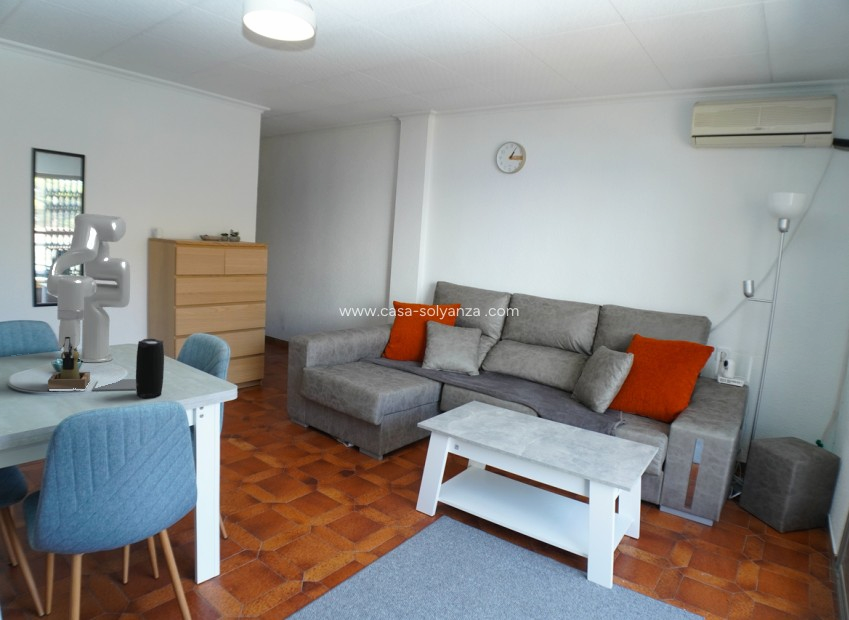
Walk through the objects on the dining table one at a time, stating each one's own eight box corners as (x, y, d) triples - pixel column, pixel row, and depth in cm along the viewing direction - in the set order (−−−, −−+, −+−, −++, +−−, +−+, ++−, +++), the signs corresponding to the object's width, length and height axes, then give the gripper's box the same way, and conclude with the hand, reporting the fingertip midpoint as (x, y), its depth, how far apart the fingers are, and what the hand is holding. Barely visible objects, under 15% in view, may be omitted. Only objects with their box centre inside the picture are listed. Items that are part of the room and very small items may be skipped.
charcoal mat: (98, 381, 195) (98, 379, 195) (138, 380, 200) (138, 379, 200) (92, 391, 183) (92, 389, 183) (135, 390, 188) (135, 388, 188)
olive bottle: (55, 382, 184) (55, 350, 182) (74, 378, 189) (74, 348, 188) (65, 385, 181) (65, 353, 180) (84, 382, 186) (84, 351, 185)
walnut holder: (54, 383, 188) (55, 372, 187) (89, 383, 192) (90, 372, 191) (47, 392, 178) (48, 380, 178) (84, 391, 182) (84, 379, 182)
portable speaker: (136, 400, 178) (138, 343, 176) (134, 392, 186) (135, 338, 184) (164, 398, 183) (166, 342, 180) (161, 390, 190) (162, 337, 188)
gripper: (63, 310, 188) (62, 361, 191) (51, 318, 173) (51, 373, 175) (88, 311, 191) (87, 361, 194) (79, 319, 176) (78, 373, 178)
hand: (70, 366), depth 184 cm, fingers closed on olive bottle, 5 cm apart
